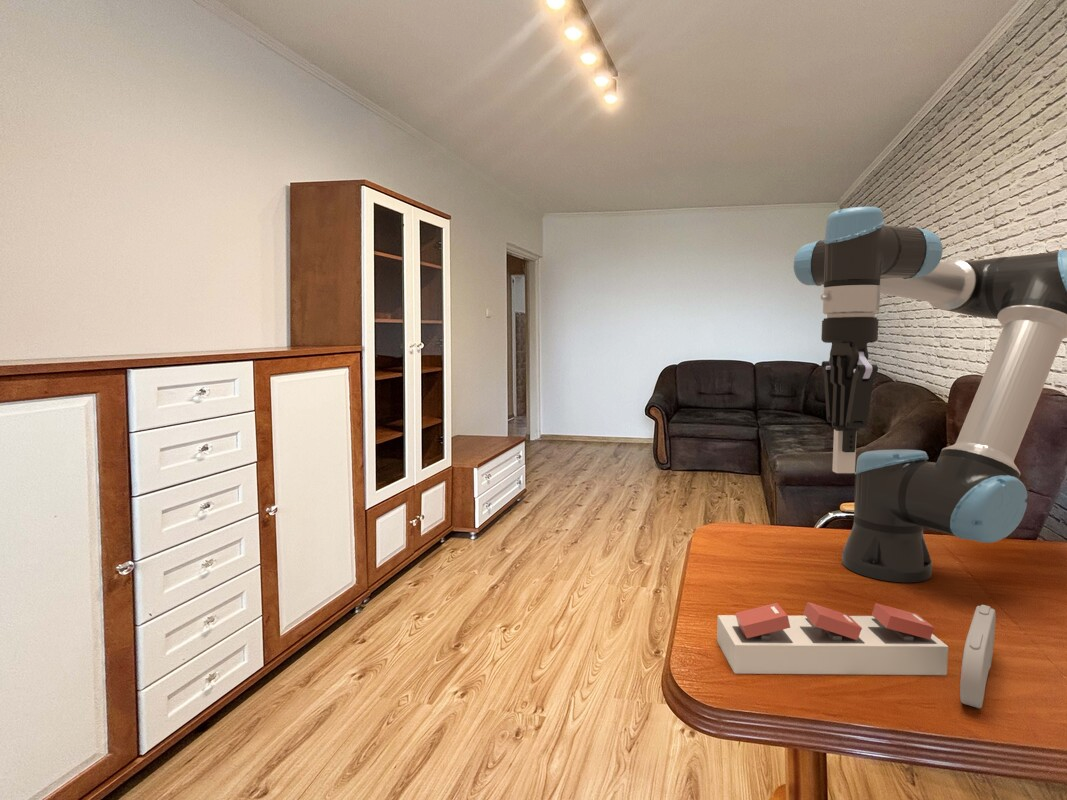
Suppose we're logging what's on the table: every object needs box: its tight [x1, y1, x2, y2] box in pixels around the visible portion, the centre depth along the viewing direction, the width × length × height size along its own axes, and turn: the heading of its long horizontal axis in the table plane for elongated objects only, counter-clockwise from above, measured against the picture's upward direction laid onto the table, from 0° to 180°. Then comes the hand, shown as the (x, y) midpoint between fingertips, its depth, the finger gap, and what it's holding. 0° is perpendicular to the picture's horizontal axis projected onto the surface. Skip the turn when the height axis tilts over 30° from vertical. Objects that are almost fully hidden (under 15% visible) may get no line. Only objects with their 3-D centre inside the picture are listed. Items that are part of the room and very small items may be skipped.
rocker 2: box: [802, 601, 862, 640], centre depth 86 cm, size 6×4×2 cm, turn 90°
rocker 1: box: [734, 602, 790, 638], centre depth 86 cm, size 6×4×2 cm, turn 87°
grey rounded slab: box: [959, 604, 996, 709], centre depth 81 cm, size 20×2×8 cm, turn 140°
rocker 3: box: [871, 602, 935, 639], centre depth 86 cm, size 6×4×2 cm, turn 90°
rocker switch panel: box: [716, 614, 949, 676], centre depth 88 cm, size 28×9×5 cm, turn 88°
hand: (843, 471), depth 95 cm, fingers closed
